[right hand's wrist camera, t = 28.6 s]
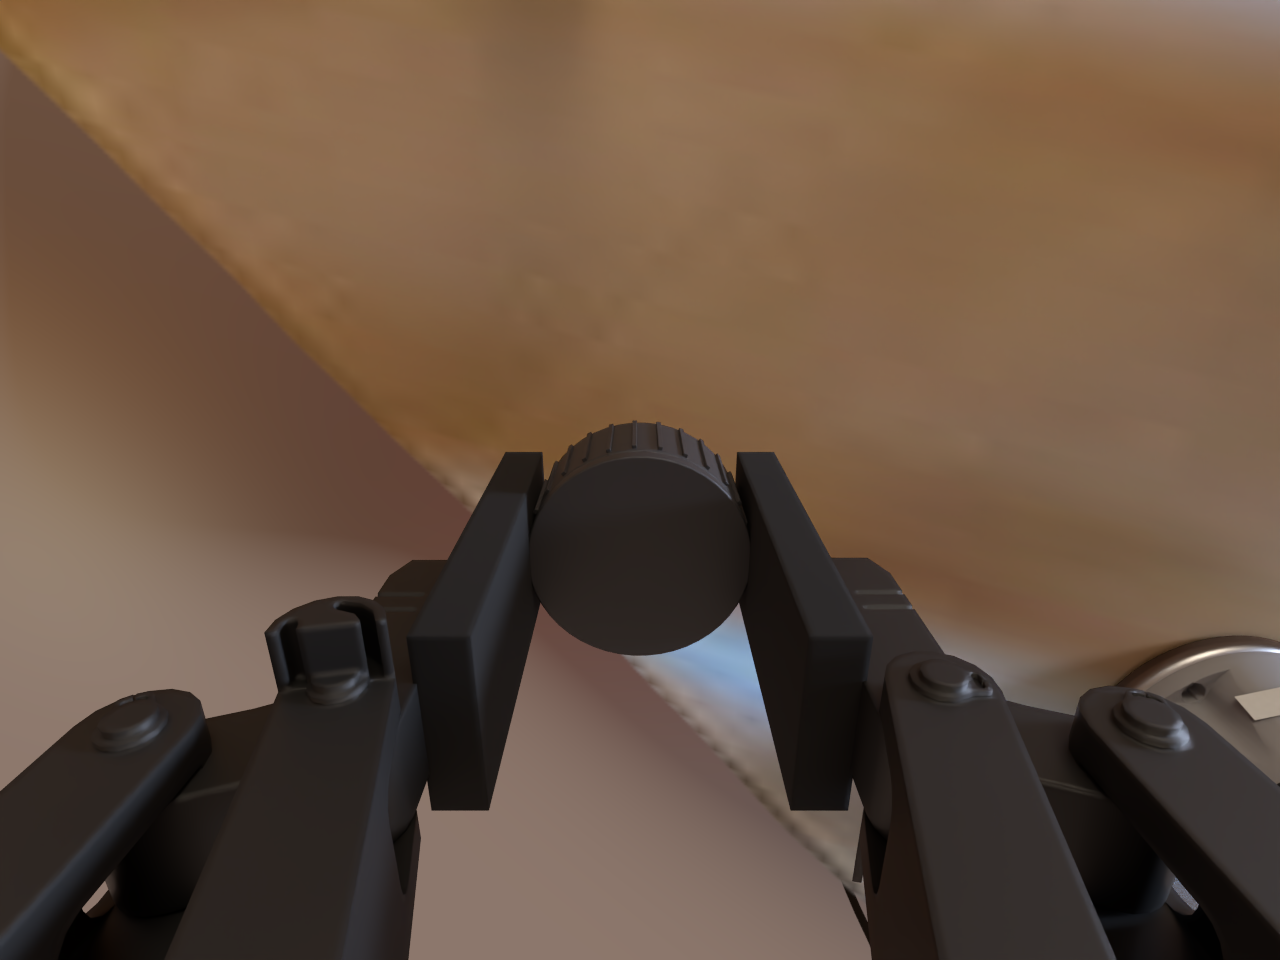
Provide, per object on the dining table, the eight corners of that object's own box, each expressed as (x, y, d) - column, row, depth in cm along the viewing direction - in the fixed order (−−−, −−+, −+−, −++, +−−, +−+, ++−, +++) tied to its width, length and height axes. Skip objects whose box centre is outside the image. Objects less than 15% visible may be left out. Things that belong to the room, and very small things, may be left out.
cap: (538, 595, 15) (523, 652, 13) (540, 412, 14) (524, 446, 12) (727, 606, 15) (740, 664, 13) (751, 425, 14) (769, 461, 12)
